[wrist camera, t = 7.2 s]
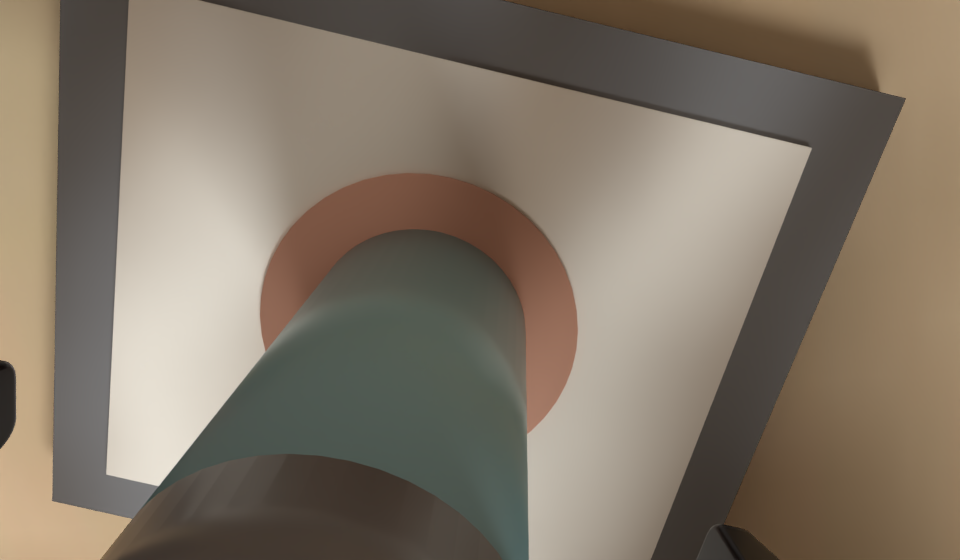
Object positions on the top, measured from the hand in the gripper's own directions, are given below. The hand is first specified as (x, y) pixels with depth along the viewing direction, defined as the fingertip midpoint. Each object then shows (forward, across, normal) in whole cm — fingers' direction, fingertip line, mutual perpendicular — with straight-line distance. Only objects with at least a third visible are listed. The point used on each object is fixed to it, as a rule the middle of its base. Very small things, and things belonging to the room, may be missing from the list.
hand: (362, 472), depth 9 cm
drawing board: (+6, 0, 0) cm, 6 cm away
